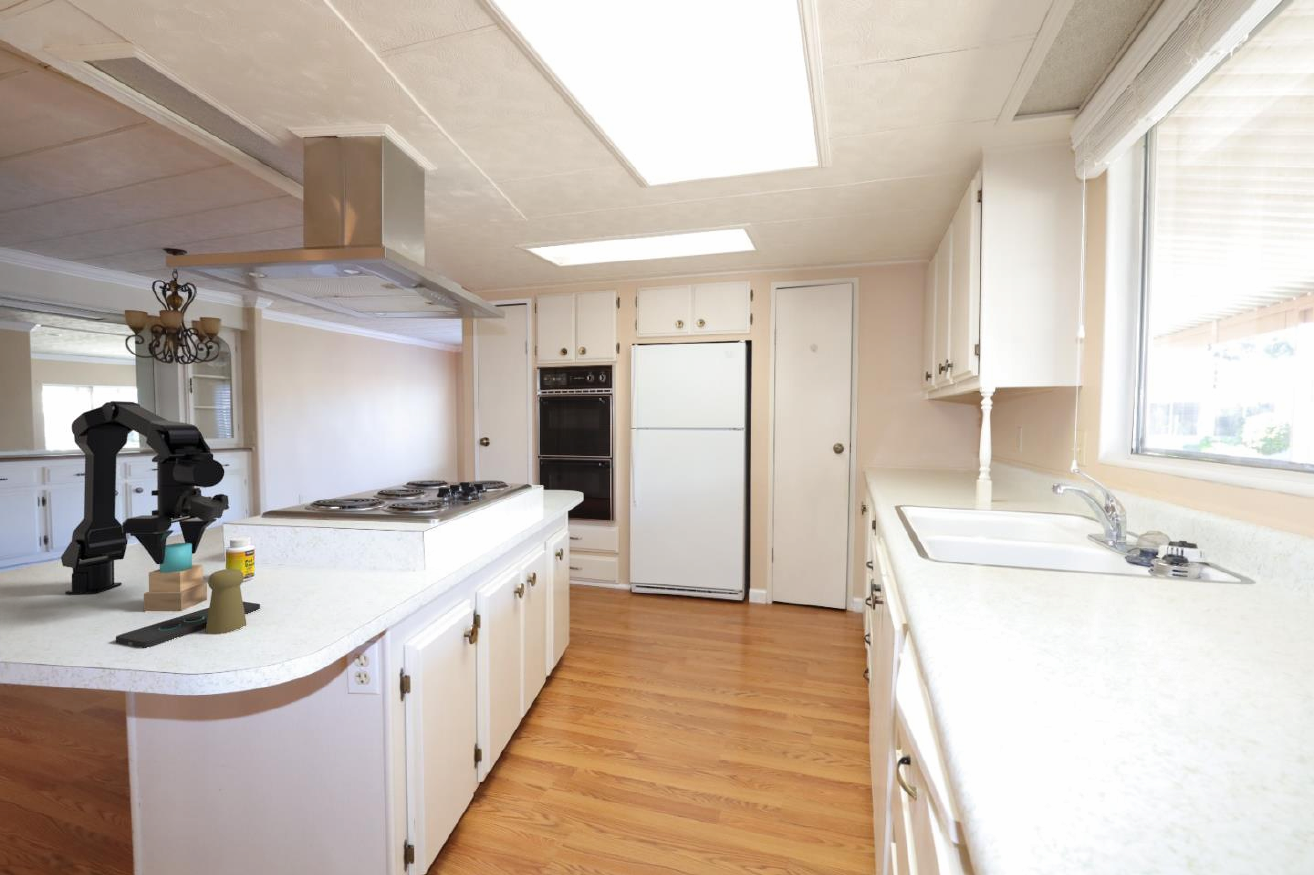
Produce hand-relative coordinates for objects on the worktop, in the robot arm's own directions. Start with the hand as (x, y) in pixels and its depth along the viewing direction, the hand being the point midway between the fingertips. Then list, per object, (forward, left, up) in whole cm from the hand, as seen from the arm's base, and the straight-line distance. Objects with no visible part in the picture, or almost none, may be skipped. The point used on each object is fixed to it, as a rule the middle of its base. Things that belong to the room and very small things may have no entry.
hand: (176, 558), depth 110 cm
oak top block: (-1, 0, -6) cm, 6 cm away
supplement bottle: (-18, +1, -10) cm, 21 cm away
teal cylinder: (0, 0, -2) cm, 2 cm away
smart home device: (+11, +11, -11) cm, 19 cm away
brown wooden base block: (0, 0, -10) cm, 10 cm away
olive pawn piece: (+13, +18, -10) cm, 24 cm away
